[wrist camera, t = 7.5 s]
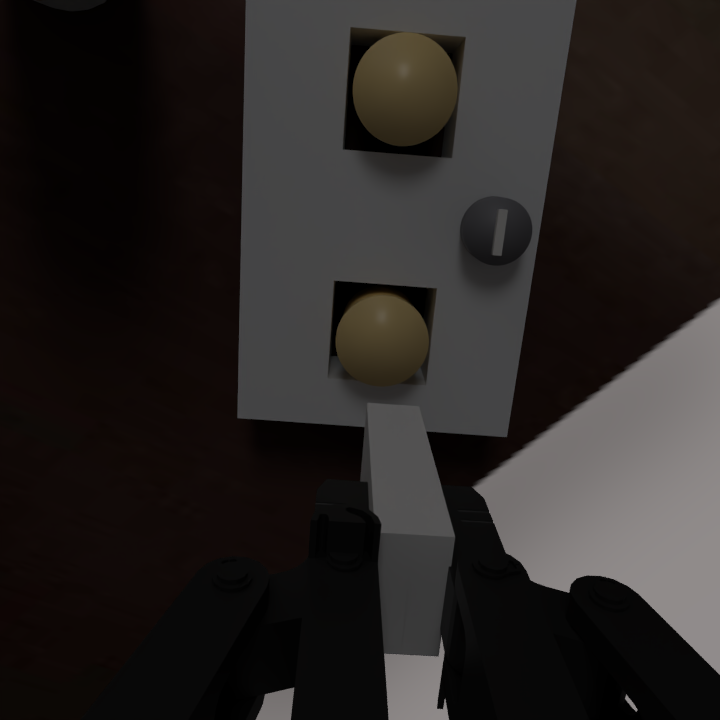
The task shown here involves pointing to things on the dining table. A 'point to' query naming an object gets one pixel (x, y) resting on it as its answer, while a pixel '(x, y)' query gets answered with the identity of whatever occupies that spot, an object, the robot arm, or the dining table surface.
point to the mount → (393, 206)
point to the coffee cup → (72, 4)
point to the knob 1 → (405, 89)
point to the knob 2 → (381, 337)
